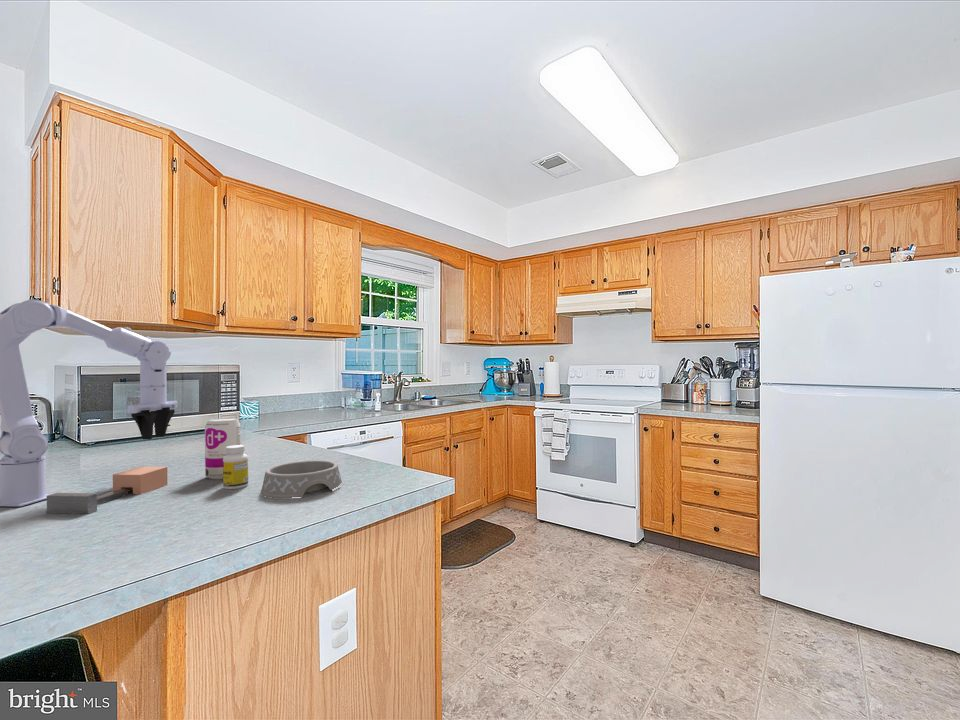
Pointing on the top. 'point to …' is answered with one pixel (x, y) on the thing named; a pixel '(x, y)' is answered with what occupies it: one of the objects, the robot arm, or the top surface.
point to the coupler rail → (79, 501)
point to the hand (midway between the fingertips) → (153, 437)
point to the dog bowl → (300, 478)
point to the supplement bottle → (235, 467)
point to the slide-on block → (140, 479)
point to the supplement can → (219, 444)
